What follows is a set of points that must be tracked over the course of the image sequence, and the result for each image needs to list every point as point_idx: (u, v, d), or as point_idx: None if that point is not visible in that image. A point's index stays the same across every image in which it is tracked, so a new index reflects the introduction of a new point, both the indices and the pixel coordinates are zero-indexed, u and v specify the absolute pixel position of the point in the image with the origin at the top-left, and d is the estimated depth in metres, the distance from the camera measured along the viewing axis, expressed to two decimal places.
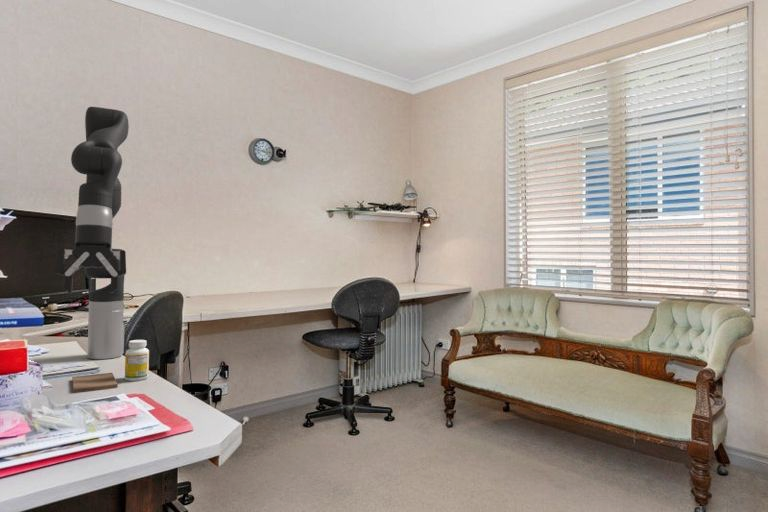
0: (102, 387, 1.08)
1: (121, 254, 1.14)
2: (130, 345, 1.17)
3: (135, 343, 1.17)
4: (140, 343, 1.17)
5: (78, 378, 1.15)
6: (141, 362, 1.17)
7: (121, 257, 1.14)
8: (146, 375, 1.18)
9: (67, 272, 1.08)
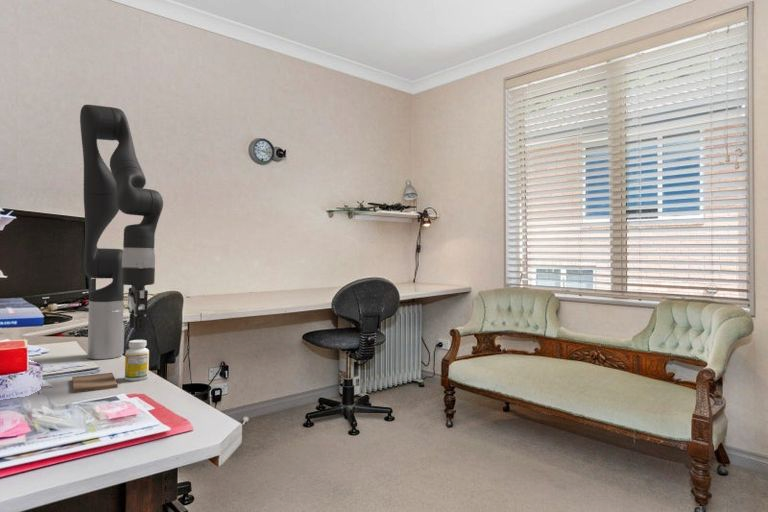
0: (102, 387, 1.08)
1: None
2: (130, 345, 1.17)
3: (135, 343, 1.17)
4: (140, 343, 1.17)
5: (78, 378, 1.15)
6: (141, 362, 1.17)
7: None
8: (146, 375, 1.18)
9: None
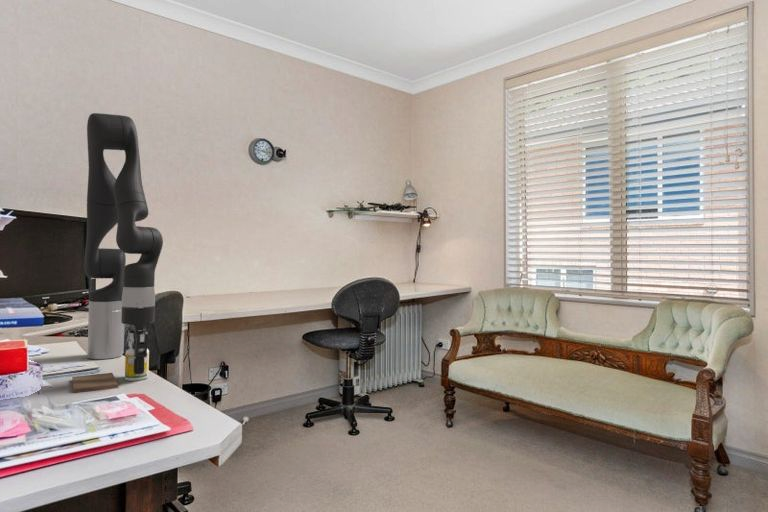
0: (102, 387, 1.08)
1: None
2: (130, 345, 1.17)
3: None
4: None
5: (78, 378, 1.15)
6: None
7: None
8: (146, 375, 1.18)
9: None
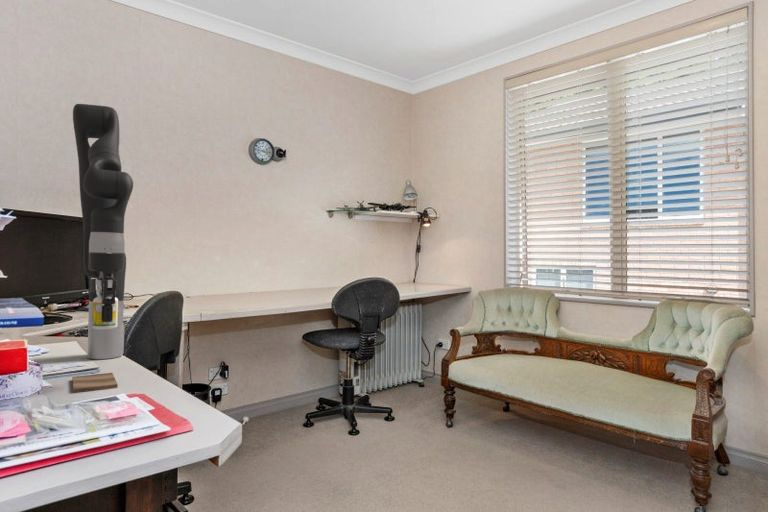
0: (102, 387, 1.08)
1: None
2: (98, 293, 1.13)
3: None
4: None
5: (78, 378, 1.15)
6: None
7: None
8: (115, 324, 1.14)
9: None
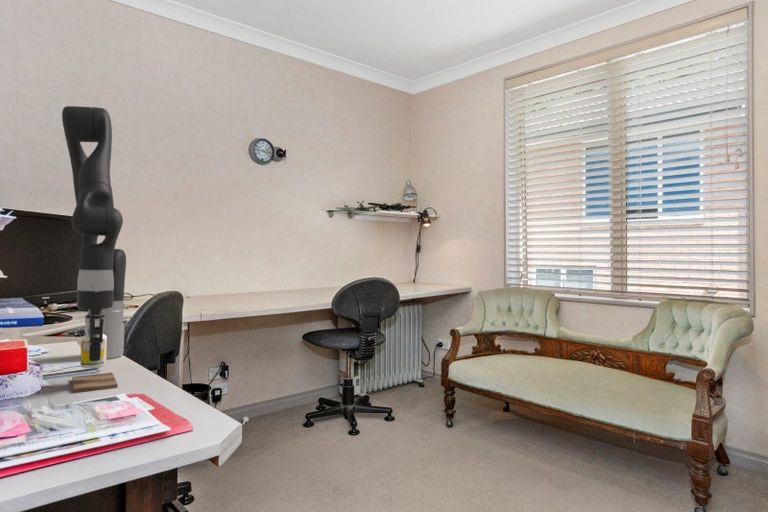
0: (102, 387, 1.08)
1: None
2: (86, 331, 1.11)
3: None
4: None
5: (78, 378, 1.15)
6: None
7: None
8: (103, 362, 1.13)
9: None
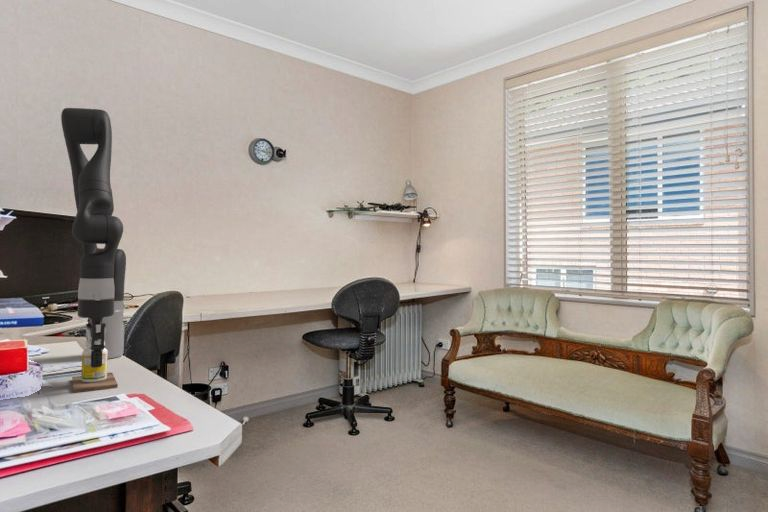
0: (102, 387, 1.08)
1: None
2: (87, 345, 1.12)
3: None
4: (97, 343, 1.12)
5: (78, 378, 1.15)
6: None
7: None
8: (104, 376, 1.13)
9: None
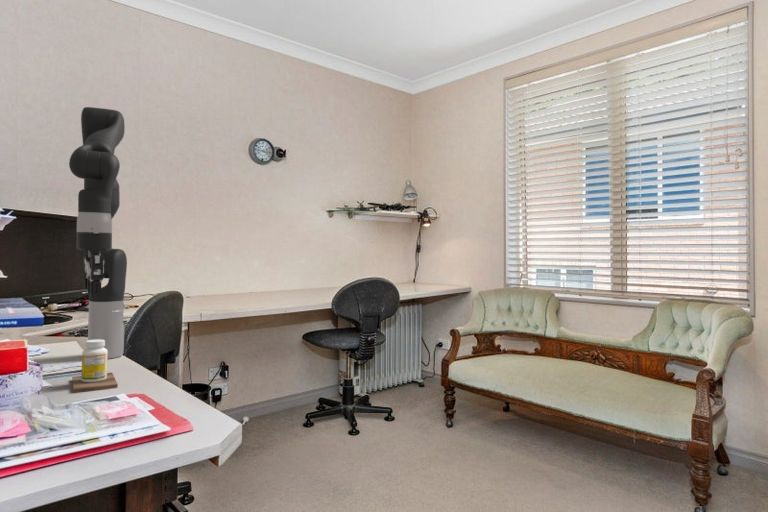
0: (102, 387, 1.08)
1: None
2: (87, 345, 1.12)
3: (92, 343, 1.11)
4: (97, 343, 1.12)
5: (78, 378, 1.15)
6: (98, 363, 1.11)
7: None
8: (104, 376, 1.13)
9: None
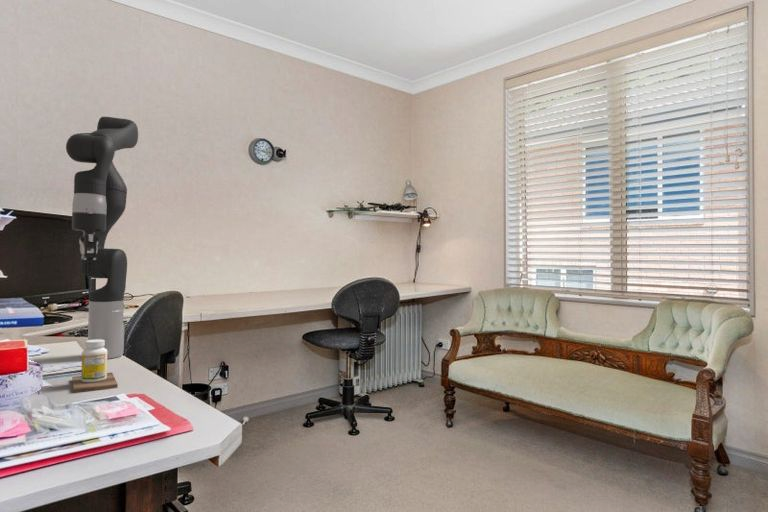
0: (102, 387, 1.08)
1: None
2: (87, 345, 1.11)
3: (92, 343, 1.11)
4: (97, 343, 1.12)
5: (78, 378, 1.15)
6: (98, 363, 1.11)
7: None
8: (104, 376, 1.13)
9: None
